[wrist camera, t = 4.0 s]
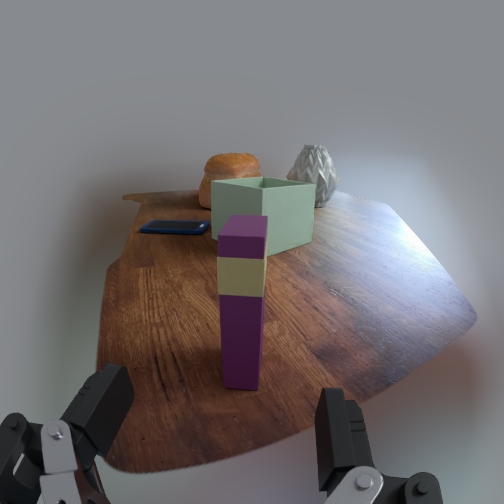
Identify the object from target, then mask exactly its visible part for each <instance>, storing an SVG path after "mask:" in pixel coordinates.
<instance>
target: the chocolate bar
mask: <svg viewBox="0 0 504 504" xmlns="http://www.w3.org/2000/svg"><path fill="white" fill-rule="evenodd" d="M267 227H268V216H260V215H234V214H232V215H231V216H230V218H229V219H228V220H227V222H226V223H225V225H224V226H223V228H222V229H221V231H220V232H219V234H218V257H217V276H218V294H219V304H220V327H221V347H222V365H223V381H224V387H225V388H235V389H246V390H258V385H259V375H260V365H261V355H262V339H263V319H264V299H265V276H266V266H267V245H268V233H267Z"/></svg>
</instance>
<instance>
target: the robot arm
mask: <svg viewBox="0 0 504 504" xmlns="http://www.w3.org/2000/svg"><path fill="white" fill-rule="evenodd" d="M133 400H134V389H133V386H132V383H131V380H130V377H129V374H128V371H127V368H126V367H125V366H122V365H118V364H113V363H107V364H106V365H105V367H104V368H103V370H102V371H101V372H99V371H97V372H96V373H94V374H93V375H92V376H90V377H89V378H88V379H87V380H86V382H85V383H84V385H83V387H82V388H81V389H80V390H79V392H78V394H77V395H76V396H75V398H74V399H73V401H72V402H71V404H70V405H69V406H68V408H67V409H66V411H65V413H64V414H63V416H62V417H61V418H60V419H53V420H50V421H48V422H46V423H45V424H44V425H42V424H36V423H29V422H28V421H27V420H26V418H25V417H24V416H23V415H22V414H20V413H11V414H9V415H8V416H7V417H6V418H5V419H4V420H3V422H2V423H1V425H0V504H37V501H38V499H39V497H40V494H41V492H42V496H43V501H44V504H111V503H110V502H109V500H108V499H107V497H106V495H105V492H104V489H103V486H102V483H101V480H100V477H99V473H98V471H97V467H96V463H95V461H94V458H95V456H96V454H97V455H99V456H101V457H104V458H106V455H107V453H108V451H109V449H110V447H111V445H112V443H113V441H114V439H115V437H116V435H117V433H118V431H119V429H120V427H121V425H122V423H123V421H124V419H125V417H126V415H127V413H128V411H129V409H130V407H131V405H132V403H133ZM315 432H316V446H317V462H318V479H319V491H327V500H326V501H325V502H324V503H323V504H443V500H442V495H441V490H440V486H439V482H438V480H437V478H436V477H435V476H434V475H432V474H430V473H426V472H420V473H416V474H414V475H413V476H411V477H410V478H398V477H390V476H385V475H384V474H382V473H380V472H379V471H378V470H377V469H376V468H375V466H374V464H373V461H372V456H371V451H370V446H369V441H368V436H367V432H366V427H365V423H364V419H363V414H362V410H361V408H360V407H359V406H358V404H357V403H356V402H355V401H354V400H345V397H344V392H343V389H342V388H323V389H322V392H321V395H320V399H319V402H318V406H317V409H316V413H315ZM22 453H23V454H24V457H23V459H22V461H21V463H20V465H19V467H18V469H17V471H16V473H15V475H13V469H14V467H15V465H16V463H17V461H18V460H19V458H20V456H21V454H22Z"/></svg>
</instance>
